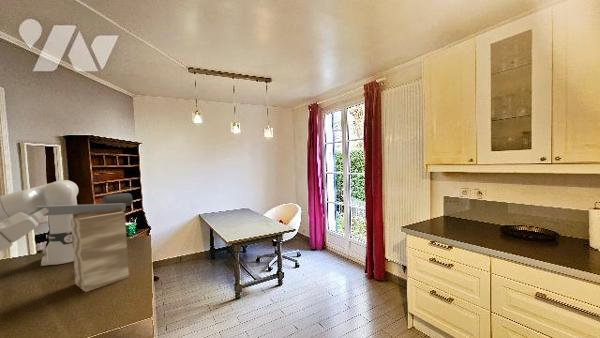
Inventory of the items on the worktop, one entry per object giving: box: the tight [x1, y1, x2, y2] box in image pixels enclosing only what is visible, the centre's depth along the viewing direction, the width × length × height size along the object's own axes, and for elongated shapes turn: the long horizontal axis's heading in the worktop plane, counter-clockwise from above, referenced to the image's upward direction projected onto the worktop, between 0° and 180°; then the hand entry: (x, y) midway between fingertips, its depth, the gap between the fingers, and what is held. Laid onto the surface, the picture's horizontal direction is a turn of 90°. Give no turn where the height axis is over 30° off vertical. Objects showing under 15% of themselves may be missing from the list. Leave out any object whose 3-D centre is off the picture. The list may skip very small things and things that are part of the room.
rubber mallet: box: [102, 192, 133, 207], centre depth 143 cm, size 12×8×30 cm, turn 142°
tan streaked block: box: [71, 209, 130, 293], centre depth 103 cm, size 12×14×27 cm
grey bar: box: [36, 203, 127, 217], centre depth 99 cm, size 3×26×3 cm, turn 143°
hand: (45, 208), depth 91 cm, fingers closed on grey bar, 3 cm apart
